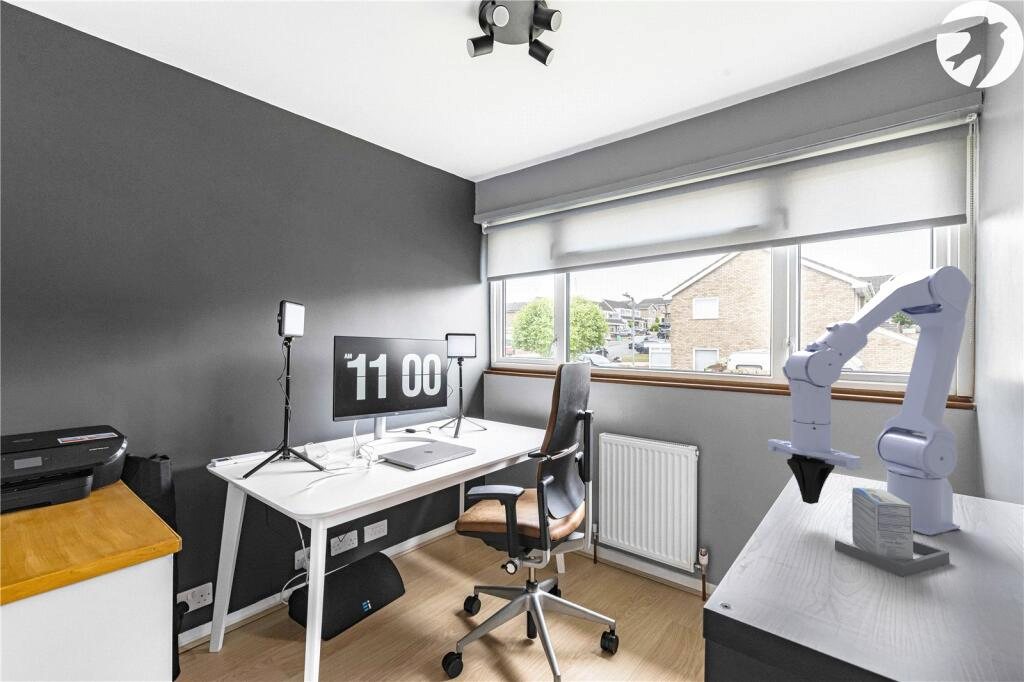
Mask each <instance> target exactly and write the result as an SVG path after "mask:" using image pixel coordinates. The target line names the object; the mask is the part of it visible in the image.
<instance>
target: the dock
mask: <svg viewBox="0 0 1024 682" xmlns="http://www.w3.org/2000/svg"><path fill="white" fill-rule="evenodd" d="M834 551H836V552H839V553H842V554H844V555H847V556H849V557H851V558H854V559H856V560H859V561H861V562H864V563H866V564H869V565H871V566H873V567H877V568H878V569H880V570H884V571H886V572H889V573H892V574H894V575H897V576H899V577H902V578H905V577H909V576H911V575H914V574H917V573H918V574H919V573H920V572H921V573H922V572H924V571H927V570H931V569H934V568H937V567H940V566H944V565H948V564H950V551H947V550H944V549H940V548H937V547H935V546H932V545H930V544H926V543H923V542H919V541H916V540H914V539H913V553H916V554H918V555H921V556H919V557H916V558H913V559H912V560H909V561H905V562H902V563H899V562H896V561H894V560H891V559H888V558H886V557H883V556H881V555H878V554H875V553H873V552H870V551H867V550H865V549H862V548H860V547H859V546H858V545H854V544H851V543H849V542H846V541H843V540H841V539H838V538H837V539H834Z"/></svg>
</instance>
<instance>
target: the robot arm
mask: <svg viewBox="0 0 1024 682" xmlns="http://www.w3.org/2000/svg"><path fill="white" fill-rule="evenodd" d="M972 288H973V284H972V283H971V282H970V280H969V279H968V277H967V276H966V275H965V273H964V272H963V271H962V270H961V269H959V268H958V267H956V266H953V265H946V266H945V265H944V266H940V267H939V268H934V269H933V268H932V269H926V270H921V271H915V272H910V273H898V274H895V275H893V276H892V277H891V276H890V278H889V279H887V281H886V282H884V283H882V284H881V285H880V286H879V289H880V290H879V291H878V292H877V293H876V294H875V295H874V297H872V298H871V299H870V300H869V301H868V302H867V303H866V304H865V305H864V306H863V307H862V308H861V309H860V310H859V311H858V312H857V313H856V314H855V315H854V316H853V317H852V318H850V320H848V321H843V320H842V321H838V322H833V323H828V325H827V326H825V330H826V331H824V333H822V334H821V335H819V337H817V338H816V339H815V340H813V341H809V343H807V344H806V348H805V349H804V351H796V352H793V353H792V354H791V355H789V357H788V358H787V360H786V362H785V365H784V366H781V367H782V373H783V376H784V377H785V379H786V380H787V383H788V390H790V441H787V440H780V439H776V438H774V439H767V451H770V452H777V453H782V454H784V455H785V454H786V455H791V456H790V457H791V458H787V459H786V464H787V465H788V466H789V468H790V470H791V471H792V474H793V475H794V477H795V480H796V483H797V486H798V490H799V491H800V495H801V499H802V502H803V503H806V504H809V505H812V504H813V505H814V504H819V499H820V497H821V496H820V495H821V494H822V493H821V492H822V489H823V487H824V485H825V483H826V481H827V479H828V477H829V476H830V474H831V472H833V471H834V469H835V467H836V466H838V467H843V468H845V469H847V470H849V471H855V470H861V469H862V465H861V464H862V463H861V462H862V461H861V460H862V458H861V456H858V455H854V454H850V453H847V452H843V451H839V450H836V449H833V448H832V385H833V384H834V383H836V382H838V381H839V379H840V377H841V375H842V374H841V373H842V369H843V368H844V367H845V365H846V363H848V362H849V361H850V360H851V359H852V358H853V357H855V356H856V355H857V354H858V353H859V352H861V351H862V350H863V349H864V348H865V347H867V344H868V340H869V339H868V335H869V334H871V332H873V331H874V330H876V329H877V328H878V327H880V326H881V325H882V324H884V323H885V322H886V321H888V320H889V319H890V318H892V317H893V316H895V315H896V314H897V313H901V314H902V315H903V316H904V317H906V318H907V319H908V320H910V321H911V322H913V323H916V324H917V325H918V327H919V329H920V330H919V336H918V338H917V343H916V347H915V352H914V357H913V361H912V364H911V368H910V373H909V376H908V380H907V385H906V389H905V391H904V392H905V394H904V397H903V401H902V406H901V409H900V412H899V413H898V414H896V415H894V416H893V417H891V418H889V419H888V420H886V421H885V422H884V428H883V430H882V431H881V433H879V435H878V436H877V438H876V440H875V443H874V444H875V445H874V447H875V449H874V450H875V453H876V456H877V457H878V459H880V461H882V462H883V467H884V468H885V469H886V491H887V492H889V493H891V494H892V495H894V496H896V497H898V498H899V499H901V500H903V501H904V502H906V503H908V504H909V505H911V506H912V512H913V532H916V533H920V534H923V535H926V536H934V535H937V534H941V533H946V532H948V531H952V530H957V529H960V528H961V525H960V524H959V523H954V513H953V512H954V507H953V506H954V489H953V487H952V484H951V483H950V481H949V480H948V476H949V475H950V474H951V473H952V472H953V471H954V470H955V468H956V466H957V464H958V453H957V447H956V445H957V439H958V436H957V434H956V433H954V432H953V431H952V429H950V428H949V427H948V426H947V425H946V424H945V423H944V422H943V420H944V417H945V416H944V415H945V411H946V406H947V404H948V403H947V402H948V398H949V394H950V389H951V385H952V382H953V377H954V373H955V369H956V364H957V360H958V356H959V352H960V348H961V343H962V339H963V334H964V332H965V327H966V314H967V310H968V305H969V301H970V296H971V292H972ZM918 434H919V435H918ZM920 434H922V435H920ZM924 435H925V436H924Z"/></svg>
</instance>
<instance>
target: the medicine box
mask: <svg viewBox="0 0 1024 682" xmlns="http://www.w3.org/2000/svg"><path fill="white" fill-rule="evenodd" d="M851 491H852V493H851V494H852V496H851V503H852V506H851V507H852V510H851V511H852V512H851V513H852V514H851V515H852V518H851V519H852V523H851V526H852V528H851V529H852V533H851V534H852V535H851V536H852V542H853V543H854V544H855V546H857V547H859V548H862V549H865V550H867V551H870V552H873V553H875V554H878V555H881V556H883V557H886V558H888V559H891V560H894V561H896V562H899V563H902V562H905V561H909V560H912V559H914V552H913V540H914V531H913V512H912V506H911V505H909V504H908V503H906V502H904V501H903V500H901V499H899V498H898V497H896V496H894V495H892V494H891V493H889V492H887V490H886V489H880V488H873V487H871V488H870V487H852V490H851Z"/></svg>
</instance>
